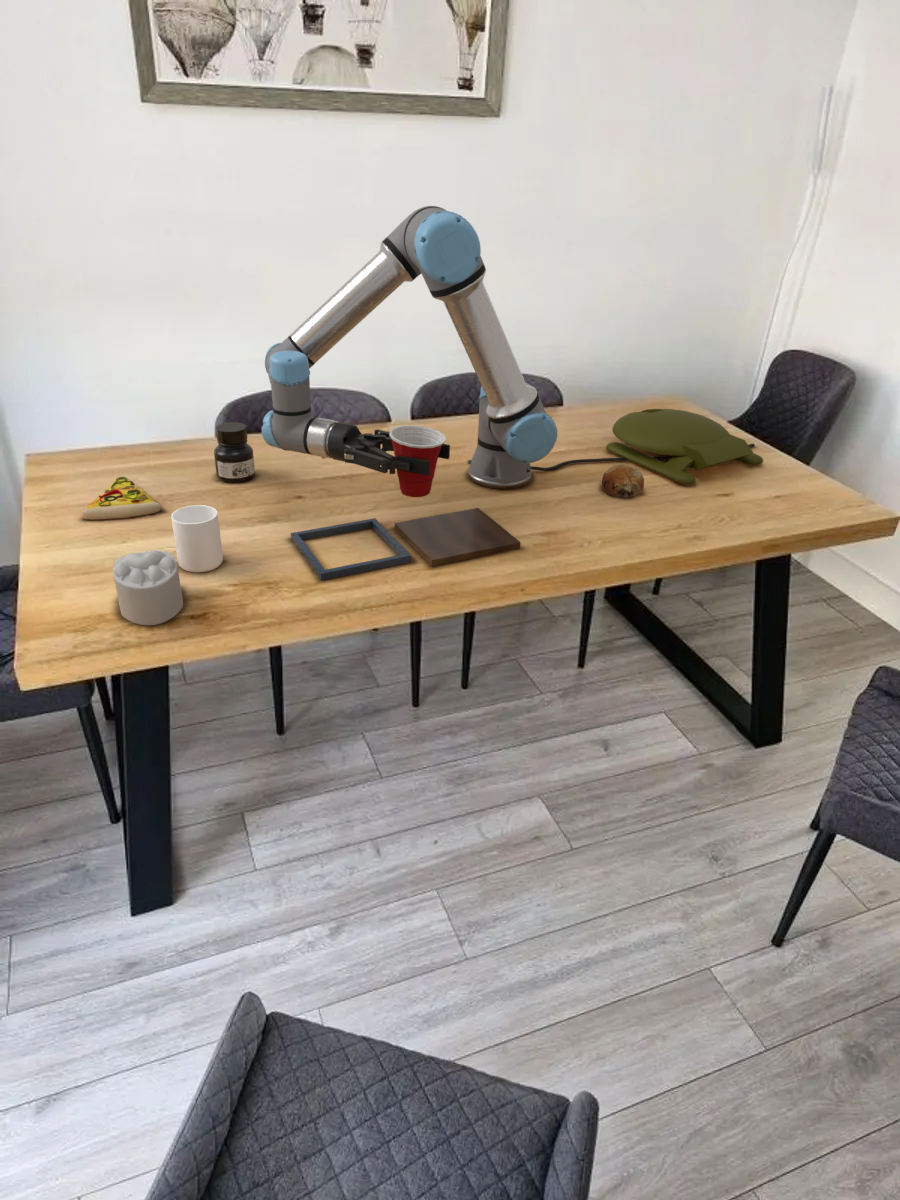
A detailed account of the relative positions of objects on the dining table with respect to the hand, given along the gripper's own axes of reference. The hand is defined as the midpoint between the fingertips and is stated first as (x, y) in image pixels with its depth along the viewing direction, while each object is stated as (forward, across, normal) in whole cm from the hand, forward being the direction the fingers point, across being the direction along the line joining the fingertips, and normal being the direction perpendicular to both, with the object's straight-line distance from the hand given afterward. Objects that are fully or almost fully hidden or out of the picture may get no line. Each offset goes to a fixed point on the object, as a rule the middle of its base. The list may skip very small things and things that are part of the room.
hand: (439, 460), depth 156 cm
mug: (-39, +25, -19) cm, 50 cm away
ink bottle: (-57, -12, -19) cm, 61 cm away
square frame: (-15, +9, -19) cm, 26 cm away
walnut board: (+2, -6, -19) cm, 20 cm away
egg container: (-35, +43, -19) cm, 59 cm away
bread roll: (+27, -47, -19) cm, 58 cm away
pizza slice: (-71, +10, -19) cm, 74 cm away
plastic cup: (-5, 0, -8) cm, 9 cm away
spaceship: (+34, -78, -19) cm, 87 cm away
